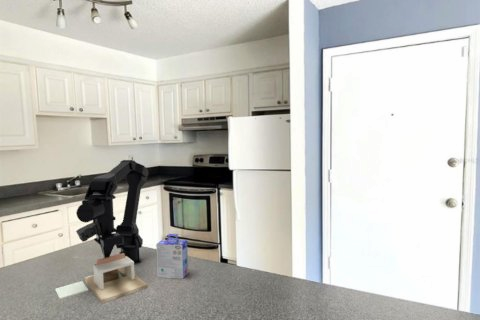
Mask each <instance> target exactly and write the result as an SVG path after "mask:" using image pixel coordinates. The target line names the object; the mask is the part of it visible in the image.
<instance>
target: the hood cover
mask: <svg viewBox="0 0 480 320" xmlns="http://www.w3.org/2000/svg"><path fill="white" fill-rule="evenodd" d="M122 267H124V273H125V274H126V275H127V276H128V277H129V278H130V279H131V280H133V279H135V275H136V273H135V264H134V261H132V260H131V259H130V258H128V257H127V256H125V254H124V253H122V254H119V253H118V254H114V255H110V257H106V258H104V257H103V258H99V259H96V262H95V263H94V264H93V269H92V270H93V275H94V283H95V284H96V285H97V286H98V287H99V289H100V290H102V289H104V282H103V273H105V272H108V271H112V270H115V269H119V268H122Z"/></svg>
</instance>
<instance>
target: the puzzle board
mask: <svg viewBox="0 0 480 320" xmlns="http://www.w3.org/2000/svg"><path fill="white" fill-rule="evenodd" d="M118 273H119V278H118V279H115V280H112V281H109V282H104V281H103V282H104V289H102V290H100V289H99V287H98V286H97V285H96V284H95V283H94V274H92V275H88V276H85V277H84V278H83V280H84V282H85V283H86V285H87V286H88V287H89V288H90V290H91V291H92V292H93V294H94V295H95V296H96V297H97V299H98V300H99V301H100V302H101V304H105V303H108V302H110V301H113V300H115V299H118V298H121V297H124V296H128V295H131V294H134V293H137V292H140V291H142V290H145V289H147V288H148V284H147V283H146V282H144V281H143V280H142V279H141V278H140V277H139V276H137V274H135V279H133V280H131V279H130V278H129V277H128V276H127V275H126V274H125V273H124V267H122V268H119V269H118Z"/></svg>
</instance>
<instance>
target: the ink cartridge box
mask: <svg viewBox="0 0 480 320" xmlns="http://www.w3.org/2000/svg"><path fill="white" fill-rule="evenodd" d="M178 236H179V234H178V233H168V235H167V239H161V240H160V241H158V242H157V243H156V244H155V246H156V248H155V249H156V277H157V278H163V279H165V278H167V279H184V278H185V277H186V276H187V275H188V274H189V265H188V264H189V263H188V262H189V261H188V260H189V258H188V255H189V254H188V240H187V239H178V238H179V237H178ZM173 237H175V238H173Z"/></svg>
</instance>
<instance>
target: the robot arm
mask: <svg viewBox="0 0 480 320" xmlns="http://www.w3.org/2000/svg"><path fill="white" fill-rule="evenodd" d="M148 177H149V169H148V168H147V166H145V165H143V164H141V163H138V162H136V161H135V160H133V159H122V160H121V161H120V162H119V163H118V164H117V165H116V166H115V167H113V168H112V169H111V170H109V171H108V172H107V173H105V174H100V175H97V176H96V177H93V178H92V179H91V180H90V183H89V185H88V187H87V189H86V193H85V195H84V198H83V200H81V204H80V205H79V206H78V207H77V209H76V212H75V213H76V216H77V219H78V220H79V221H80V222H82V223H88V224H86V225H84V226H82V227H80V228H79V229H77V230H76V231H75V232H76V235H77V236H78V238H79V240H80V241H81V242H83V243H84V242H86V241H87V242H88V241H89V239H90V238H92V237H94V236H96V237H95V238H93V241H95V242H96V243H97V244H99V246H100V249H101V253H102V256H103V258H106V257H110V256H111V254H112V252H113V249H114V248H115V247H116V249H120V251H119V252H118V254H122V253H124V254H125V256H127V257H128V258H130V259H131V260H132V261H134V265H136V264H139V263H141V262H142V260H141V259H140V258H141V257H140V248H142V247H143V243H144V242H143V241H144V240H143V238H142V237H141V235H140V229H139V227H138V225H137V217H138V210H139V204H140V198H141V197H140V196H141V191H142V187H143V186H144V185H145V184H146V183H147V178H148ZM124 178H125V180H126V183H127V186H128V188H127V195H126V199H125V201H126V202H125V205H124V206H125V207H124V212H123V216H122V217H123V218H122V222H121V223H120V224H117V225H116V228H115V221H116V216H114V215H115V214H114V202H113V201H114V200H115V199H116V195H114V192H116V190H117V189H118V183H119V182H120V181H121V180H123V179H124ZM89 222H91V223H89Z"/></svg>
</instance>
